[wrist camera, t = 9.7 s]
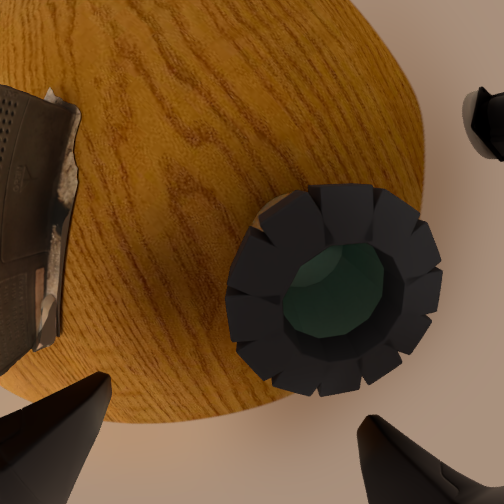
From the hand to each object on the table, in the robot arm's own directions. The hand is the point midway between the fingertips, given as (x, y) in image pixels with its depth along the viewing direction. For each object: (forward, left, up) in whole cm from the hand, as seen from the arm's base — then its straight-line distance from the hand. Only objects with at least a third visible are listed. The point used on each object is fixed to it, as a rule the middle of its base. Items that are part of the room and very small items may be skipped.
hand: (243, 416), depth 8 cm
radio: (+4, -20, -14) cm, 24 cm away
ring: (-4, +2, -5) cm, 7 cm away
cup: (-4, +2, -14) cm, 14 cm away
